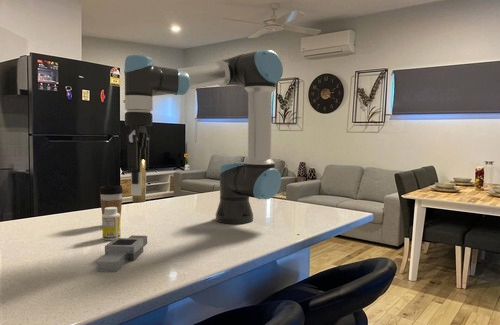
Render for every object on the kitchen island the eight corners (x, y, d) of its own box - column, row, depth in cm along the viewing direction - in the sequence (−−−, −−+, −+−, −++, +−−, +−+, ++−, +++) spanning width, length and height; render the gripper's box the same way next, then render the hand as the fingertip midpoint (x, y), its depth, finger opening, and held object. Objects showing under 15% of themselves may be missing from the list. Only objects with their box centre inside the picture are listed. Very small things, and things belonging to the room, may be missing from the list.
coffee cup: (116, 228, 138) (115, 187, 137) (95, 227, 140) (94, 187, 139) (127, 223, 147) (127, 184, 145) (108, 222, 148) (107, 183, 147)
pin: (147, 200, 111) (147, 159, 110) (143, 202, 108) (143, 160, 107) (134, 200, 111) (134, 159, 111) (130, 202, 108) (130, 160, 107)
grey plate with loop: (127, 243, 121) (126, 230, 121) (151, 243, 121) (151, 231, 120) (91, 271, 97) (90, 255, 96) (122, 271, 96) (121, 256, 96)
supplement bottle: (114, 235, 130) (114, 205, 129) (123, 238, 126) (123, 207, 126) (99, 238, 126) (98, 208, 125) (108, 241, 122) (107, 210, 121)
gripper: (135, 113, 116) (135, 189, 118) (113, 109, 100) (114, 198, 101) (160, 113, 116) (159, 190, 117) (142, 110, 99) (142, 199, 101)
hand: (138, 194), depth 109 cm, fingers closed on pin, 3 cm apart
